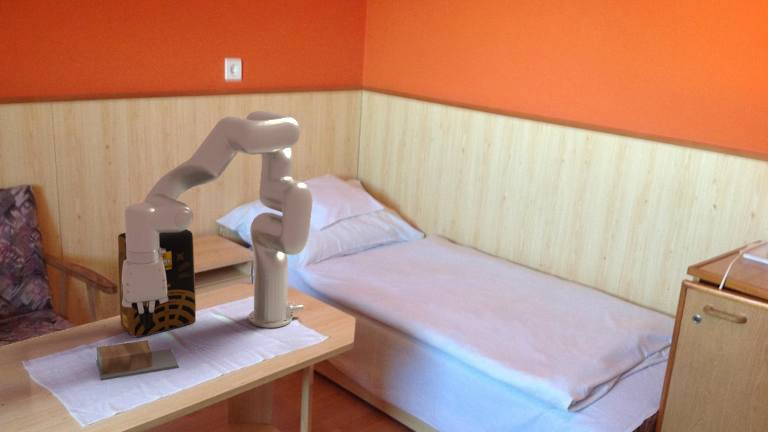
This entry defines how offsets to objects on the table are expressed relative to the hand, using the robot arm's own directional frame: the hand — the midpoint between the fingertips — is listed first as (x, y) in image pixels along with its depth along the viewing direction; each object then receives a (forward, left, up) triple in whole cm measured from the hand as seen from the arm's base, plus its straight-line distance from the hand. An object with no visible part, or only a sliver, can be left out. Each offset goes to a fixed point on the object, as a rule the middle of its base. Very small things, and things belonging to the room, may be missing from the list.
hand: (146, 325), depth 179 cm
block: (-1, 0, -7) cm, 7 cm away
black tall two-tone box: (-7, -22, -10) cm, 25 cm away
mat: (+2, 0, -10) cm, 10 cm away
